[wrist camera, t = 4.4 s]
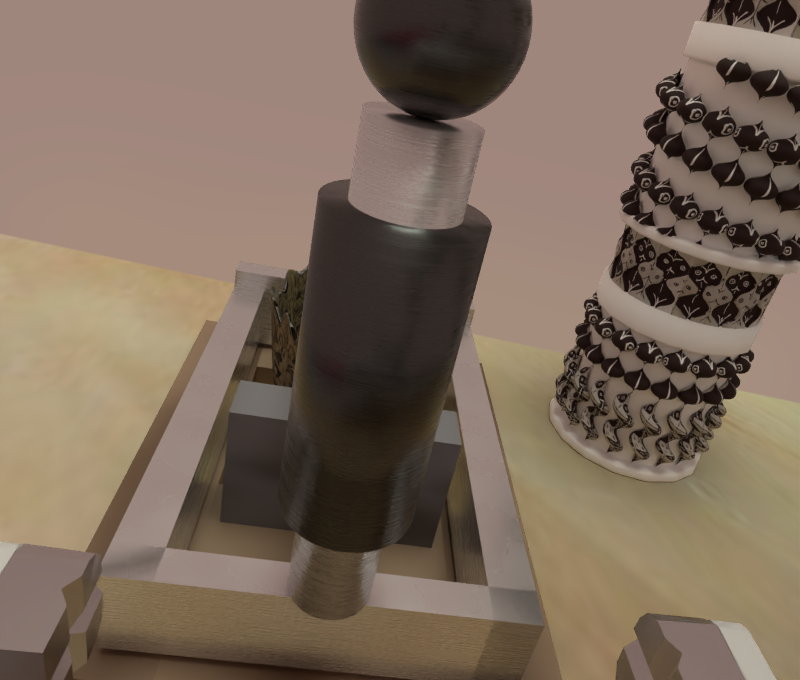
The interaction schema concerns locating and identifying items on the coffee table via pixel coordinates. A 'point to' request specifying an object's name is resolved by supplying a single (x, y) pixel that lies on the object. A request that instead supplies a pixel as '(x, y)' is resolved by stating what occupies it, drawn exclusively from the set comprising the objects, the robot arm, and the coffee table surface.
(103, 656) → the base
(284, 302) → the cup
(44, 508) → the coffee table surface
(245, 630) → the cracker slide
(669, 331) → the decorative candle
